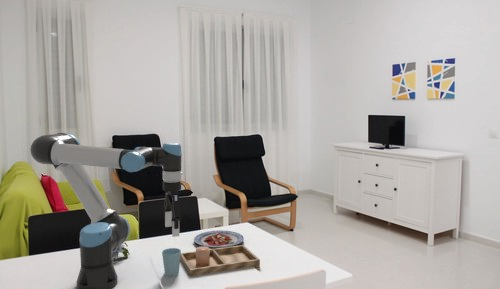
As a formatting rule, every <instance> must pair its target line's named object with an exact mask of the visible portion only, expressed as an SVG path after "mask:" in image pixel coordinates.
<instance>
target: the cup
mask: <svg viewBox="0 0 500 289" xmlns="http://www.w3.org/2000/svg"><path fill="white" fill-rule="evenodd" d="M181 253H182V250H181V249H179V248H176V247H172V248H171V247H170V248H165V249H163V250H162V251H161V255H162V262H163V263H162V264H163V269H164V275H165V276H167V277H175V276H178V275H179V274H180V265H181V264H180V262H181V260H180V256H181Z"/></svg>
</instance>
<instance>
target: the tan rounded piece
mask: <svg viewBox="0 0 500 289" xmlns="http://www.w3.org/2000/svg"><path fill="white" fill-rule="evenodd" d="M210 249H211V247H206V246H202V245H201V246H199V247H198V246H197V247H196V248H195V251H196V266H198V267H206V266H209V265H210Z"/></svg>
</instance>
